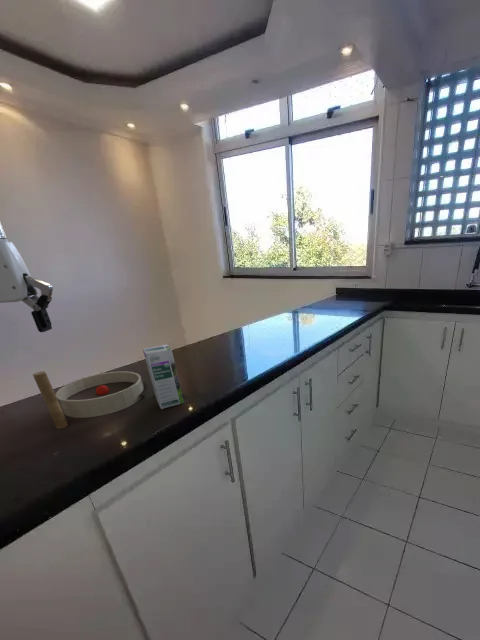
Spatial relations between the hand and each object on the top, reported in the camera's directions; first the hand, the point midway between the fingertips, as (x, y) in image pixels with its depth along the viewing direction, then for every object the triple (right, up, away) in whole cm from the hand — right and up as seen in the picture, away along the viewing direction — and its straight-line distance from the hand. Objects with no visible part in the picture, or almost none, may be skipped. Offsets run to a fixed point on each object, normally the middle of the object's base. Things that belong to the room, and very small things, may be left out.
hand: (19, 331), depth 61 cm
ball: (+2, -11, +22) cm, 25 cm away
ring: (+3, -13, +22) cm, 26 cm away
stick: (+1, -19, +10) cm, 22 cm away
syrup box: (+22, -14, +19) cm, 32 cm away
